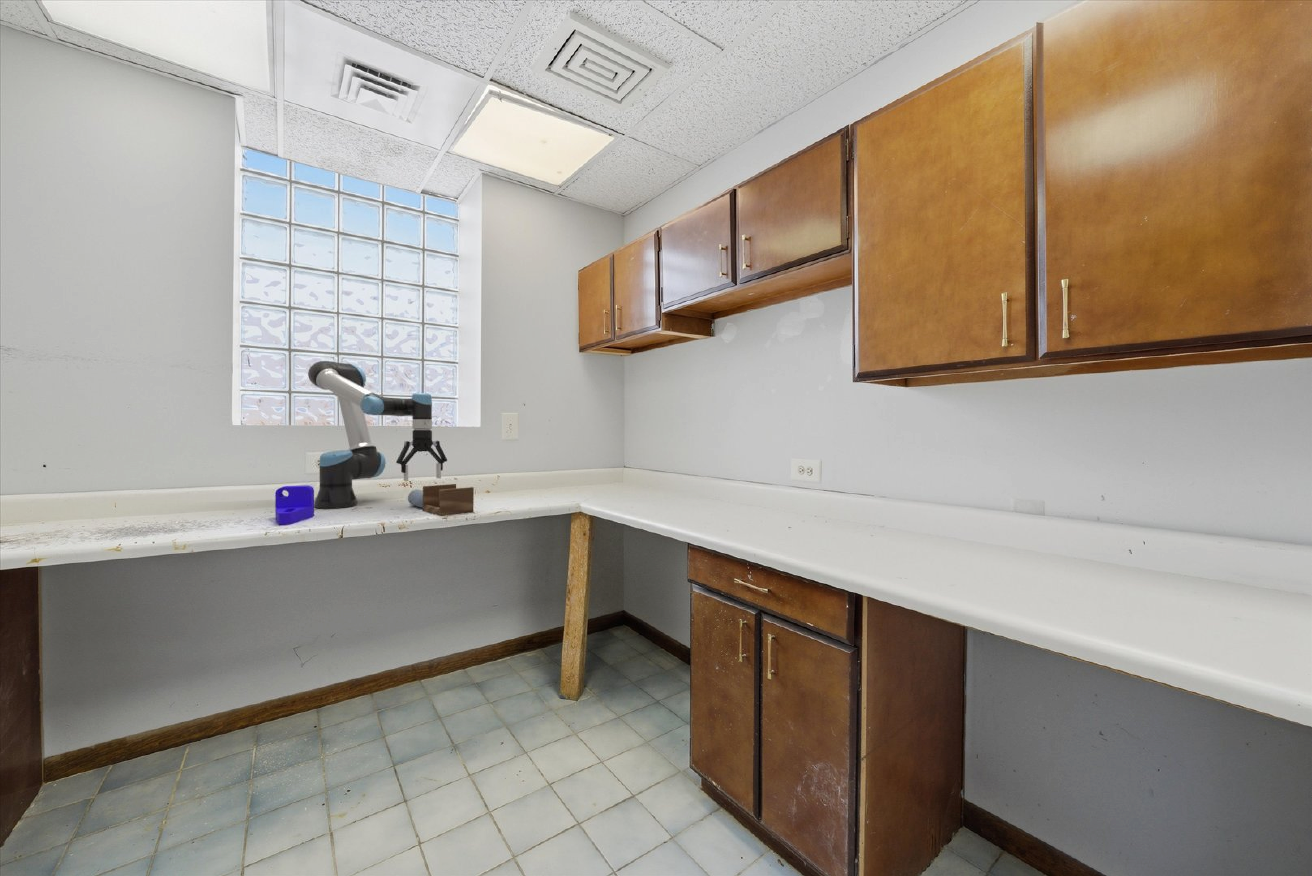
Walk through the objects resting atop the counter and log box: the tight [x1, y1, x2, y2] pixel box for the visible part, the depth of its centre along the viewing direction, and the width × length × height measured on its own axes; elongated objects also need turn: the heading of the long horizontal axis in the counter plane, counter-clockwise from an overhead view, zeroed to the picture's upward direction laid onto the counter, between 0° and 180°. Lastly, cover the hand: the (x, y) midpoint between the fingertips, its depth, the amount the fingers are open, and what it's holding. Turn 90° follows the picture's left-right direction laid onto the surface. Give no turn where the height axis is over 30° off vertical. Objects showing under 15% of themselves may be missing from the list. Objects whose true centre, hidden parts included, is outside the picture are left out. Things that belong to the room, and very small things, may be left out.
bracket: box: [274, 484, 315, 526], centre depth 177 cm, size 18×11×12 cm, turn 25°
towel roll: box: [407, 489, 423, 509], centre depth 210 cm, size 12×7×7 cm, turn 48°
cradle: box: [422, 483, 475, 517], centre depth 200 cm, size 16×13×10 cm
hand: (422, 479), depth 210 cm, fingers open, 13 cm apart
